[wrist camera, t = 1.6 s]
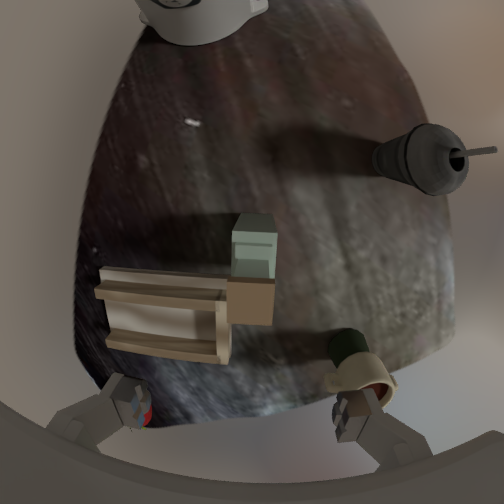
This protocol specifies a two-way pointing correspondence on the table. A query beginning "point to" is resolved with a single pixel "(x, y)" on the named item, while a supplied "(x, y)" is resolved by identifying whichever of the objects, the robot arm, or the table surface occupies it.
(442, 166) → the beverage cup
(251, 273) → the pale green flat bottle
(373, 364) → the character mug
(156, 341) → the u rest
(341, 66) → the table surface
